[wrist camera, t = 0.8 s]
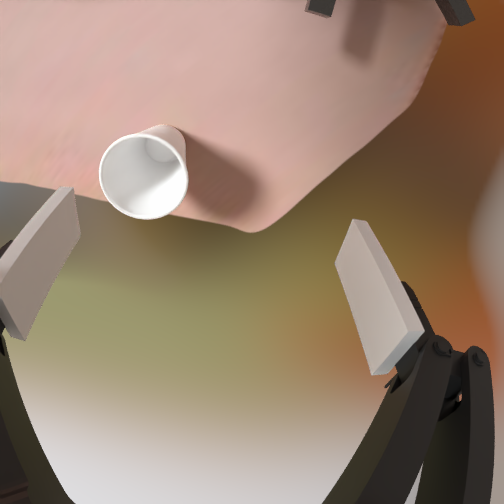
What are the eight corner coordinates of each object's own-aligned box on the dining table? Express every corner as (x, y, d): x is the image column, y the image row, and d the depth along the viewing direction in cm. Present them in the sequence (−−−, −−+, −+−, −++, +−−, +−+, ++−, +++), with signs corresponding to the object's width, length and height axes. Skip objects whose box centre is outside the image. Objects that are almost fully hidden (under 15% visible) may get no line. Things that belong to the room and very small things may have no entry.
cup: (184, 99, 34) (165, 118, 26) (210, 165, 40) (202, 204, 32) (118, 127, 36) (83, 156, 27) (147, 187, 42) (124, 230, 33)
